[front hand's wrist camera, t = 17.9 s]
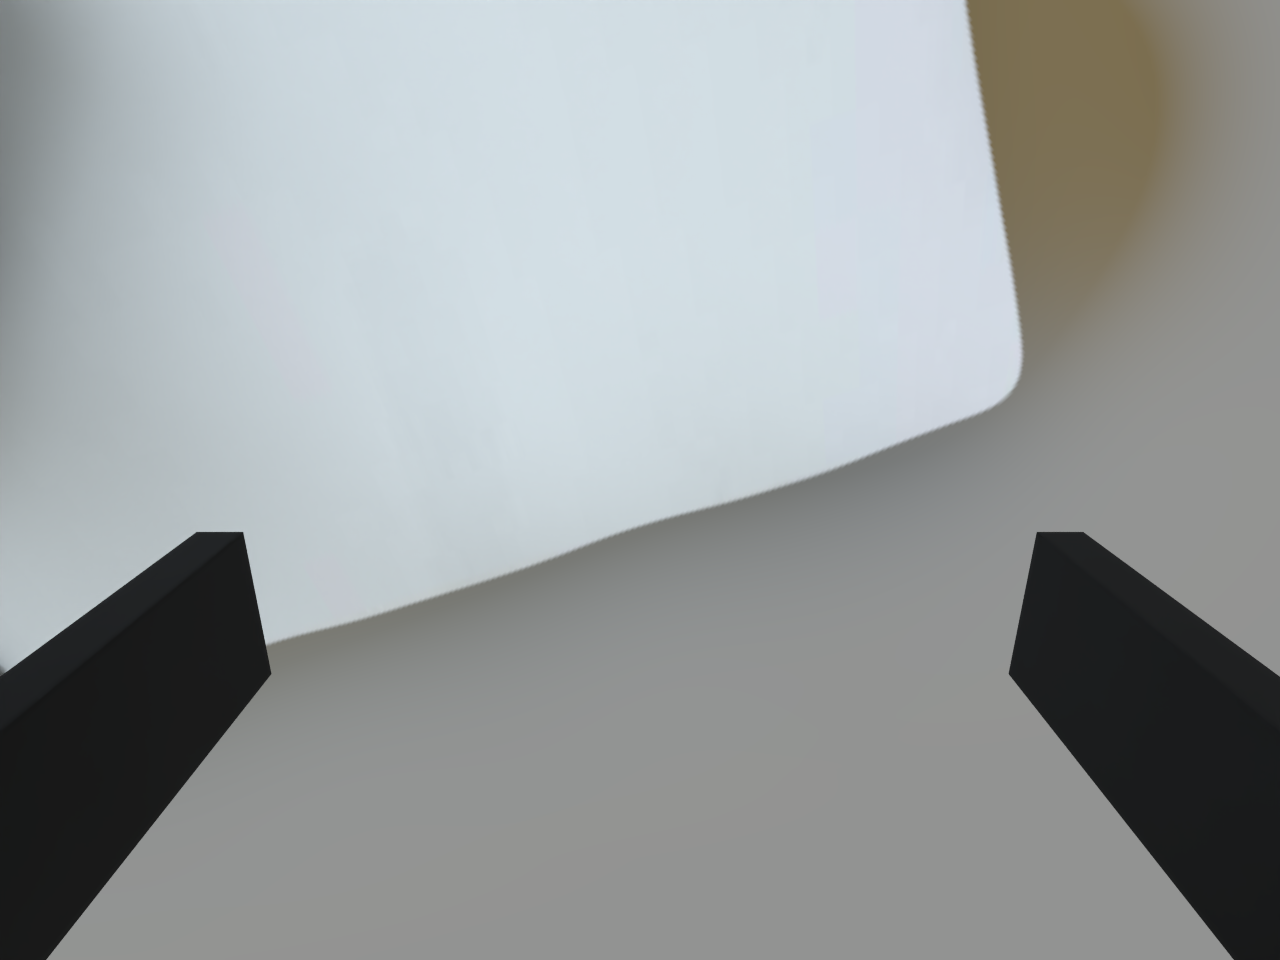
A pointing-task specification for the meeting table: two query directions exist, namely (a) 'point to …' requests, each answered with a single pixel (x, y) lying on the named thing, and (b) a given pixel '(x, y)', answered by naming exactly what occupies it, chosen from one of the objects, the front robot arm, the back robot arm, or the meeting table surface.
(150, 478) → the meeting table surface
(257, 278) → the meeting table surface
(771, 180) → the meeting table surface
